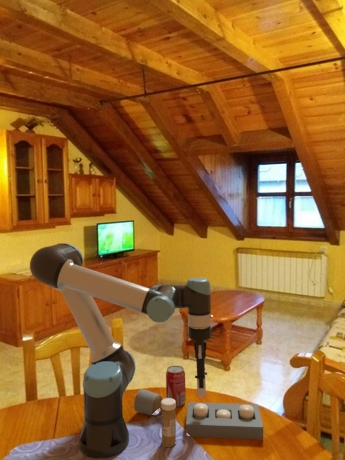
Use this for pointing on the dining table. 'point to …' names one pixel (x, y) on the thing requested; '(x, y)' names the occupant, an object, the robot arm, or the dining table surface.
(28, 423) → the dining table surface
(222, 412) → the middle button
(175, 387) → the soda can
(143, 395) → the ceramic mug
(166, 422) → the sprinkles bottle
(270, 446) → the dining table surface
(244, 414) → the right button
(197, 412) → the left button
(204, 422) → the button board
